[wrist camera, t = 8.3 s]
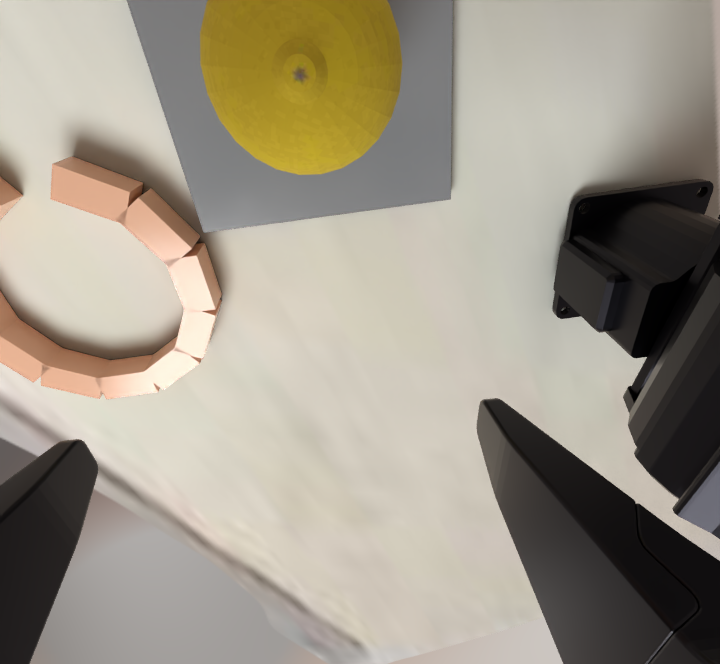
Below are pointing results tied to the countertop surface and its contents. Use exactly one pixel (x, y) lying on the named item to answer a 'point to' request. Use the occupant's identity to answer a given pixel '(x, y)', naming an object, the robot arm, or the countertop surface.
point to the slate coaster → (292, 191)
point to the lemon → (302, 77)
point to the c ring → (167, 241)
